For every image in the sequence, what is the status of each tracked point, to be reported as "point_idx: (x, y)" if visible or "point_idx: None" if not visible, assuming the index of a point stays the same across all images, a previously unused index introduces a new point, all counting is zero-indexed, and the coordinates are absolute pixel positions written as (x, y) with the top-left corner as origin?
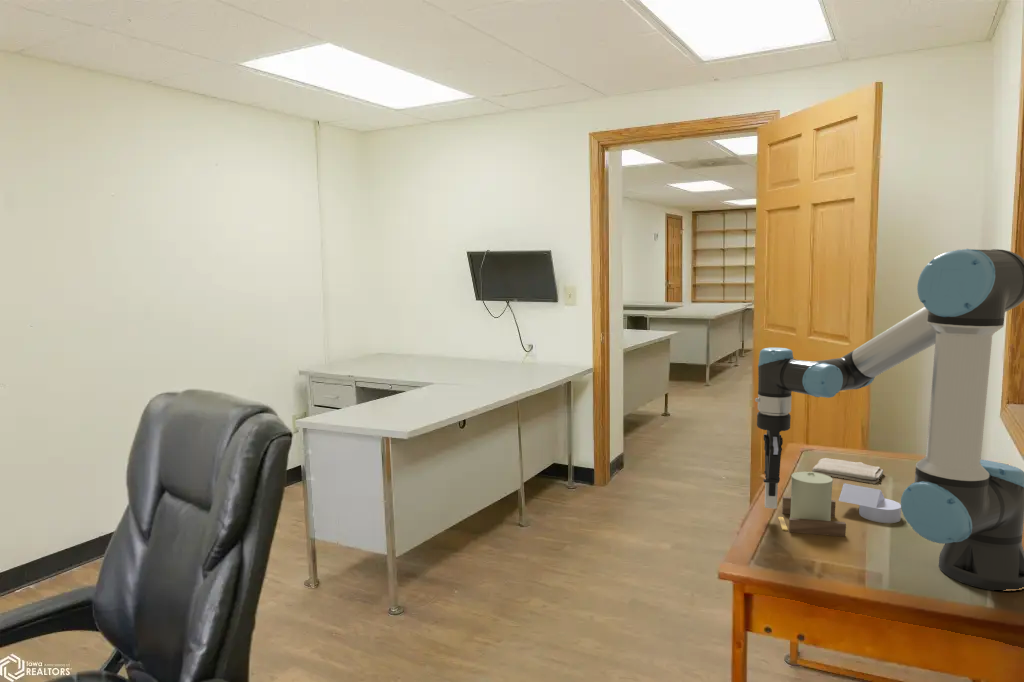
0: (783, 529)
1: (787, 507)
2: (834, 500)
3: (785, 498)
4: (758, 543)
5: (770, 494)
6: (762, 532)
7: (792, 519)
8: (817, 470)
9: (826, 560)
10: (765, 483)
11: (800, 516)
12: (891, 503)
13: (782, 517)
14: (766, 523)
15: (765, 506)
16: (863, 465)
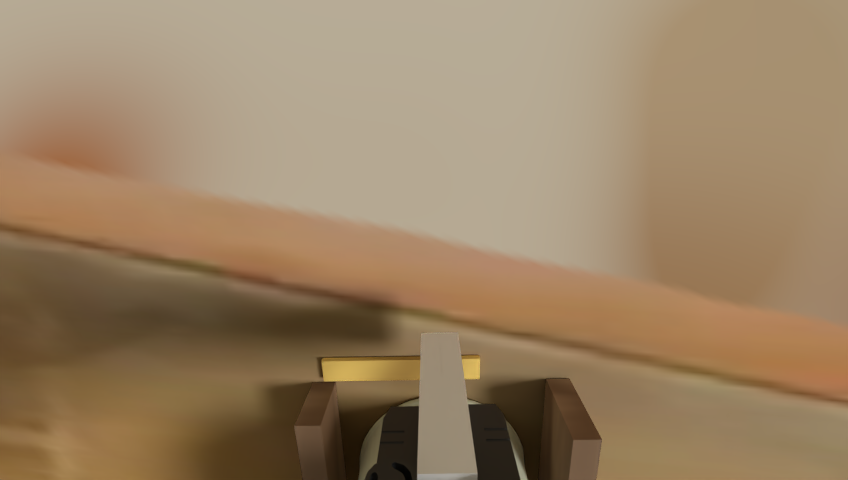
0: (322, 365)
1: (554, 418)
2: None
3: (572, 447)
4: (117, 249)
5: (385, 424)
6: (265, 275)
7: (301, 436)
8: None
9: (76, 466)
10: (457, 449)
11: (369, 468)
12: None
13: (475, 375)
14: (392, 301)
15: (421, 338)
16: None
